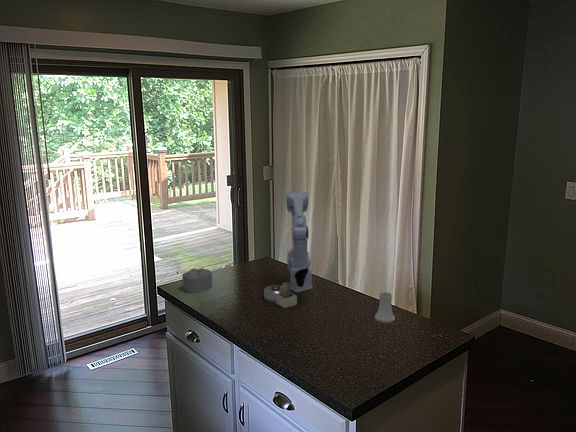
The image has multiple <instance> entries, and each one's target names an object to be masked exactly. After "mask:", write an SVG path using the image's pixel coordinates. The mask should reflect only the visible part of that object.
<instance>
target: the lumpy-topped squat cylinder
mask: <svg viewBox="0 0 576 432" xmlns="http://www.w3.org/2000/svg"><path fill="white" fill-rule="evenodd" d="M181 277H182V289H183V291H185V292H187V293H188V294H190V295H192V294H193V295H194V294H198V293H203V292H206V291H209V290H210V289H212V287H213V274H212V271H211V270H210V269H206V268H204V267H200V268H198V269H197V268H195V267H193V268H191V269H190V270H188V271H186V272H184V273H182V276H181Z"/></svg>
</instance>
